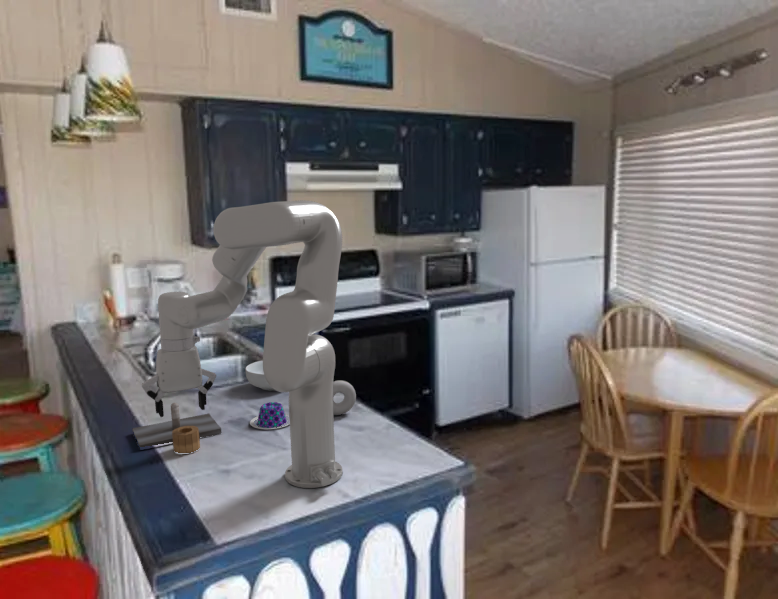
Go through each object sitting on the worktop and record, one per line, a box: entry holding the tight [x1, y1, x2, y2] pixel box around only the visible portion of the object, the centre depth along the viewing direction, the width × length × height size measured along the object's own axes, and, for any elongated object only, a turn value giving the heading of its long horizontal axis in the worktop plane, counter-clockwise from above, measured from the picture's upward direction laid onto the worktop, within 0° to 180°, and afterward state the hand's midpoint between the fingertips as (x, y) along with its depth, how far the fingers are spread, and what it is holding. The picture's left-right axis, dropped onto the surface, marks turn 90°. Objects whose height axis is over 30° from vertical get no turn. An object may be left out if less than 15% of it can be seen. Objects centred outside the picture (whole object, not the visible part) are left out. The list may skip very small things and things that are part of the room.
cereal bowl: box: [245, 360, 276, 391], centre depth 198 cm, size 17×17×7 cm
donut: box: [333, 380, 357, 416], centre depth 171 cm, size 10×4×10 cm, turn 111°
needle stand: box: [132, 402, 223, 447], centre depth 160 cm, size 13×20×8 cm, turn 120°
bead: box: [172, 426, 201, 453], centre depth 150 cm, size 6×6×5 cm
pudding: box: [249, 401, 290, 430], centre depth 167 cm, size 12×12×5 cm
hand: (181, 411), depth 149 cm, fingers open, 9 cm apart
